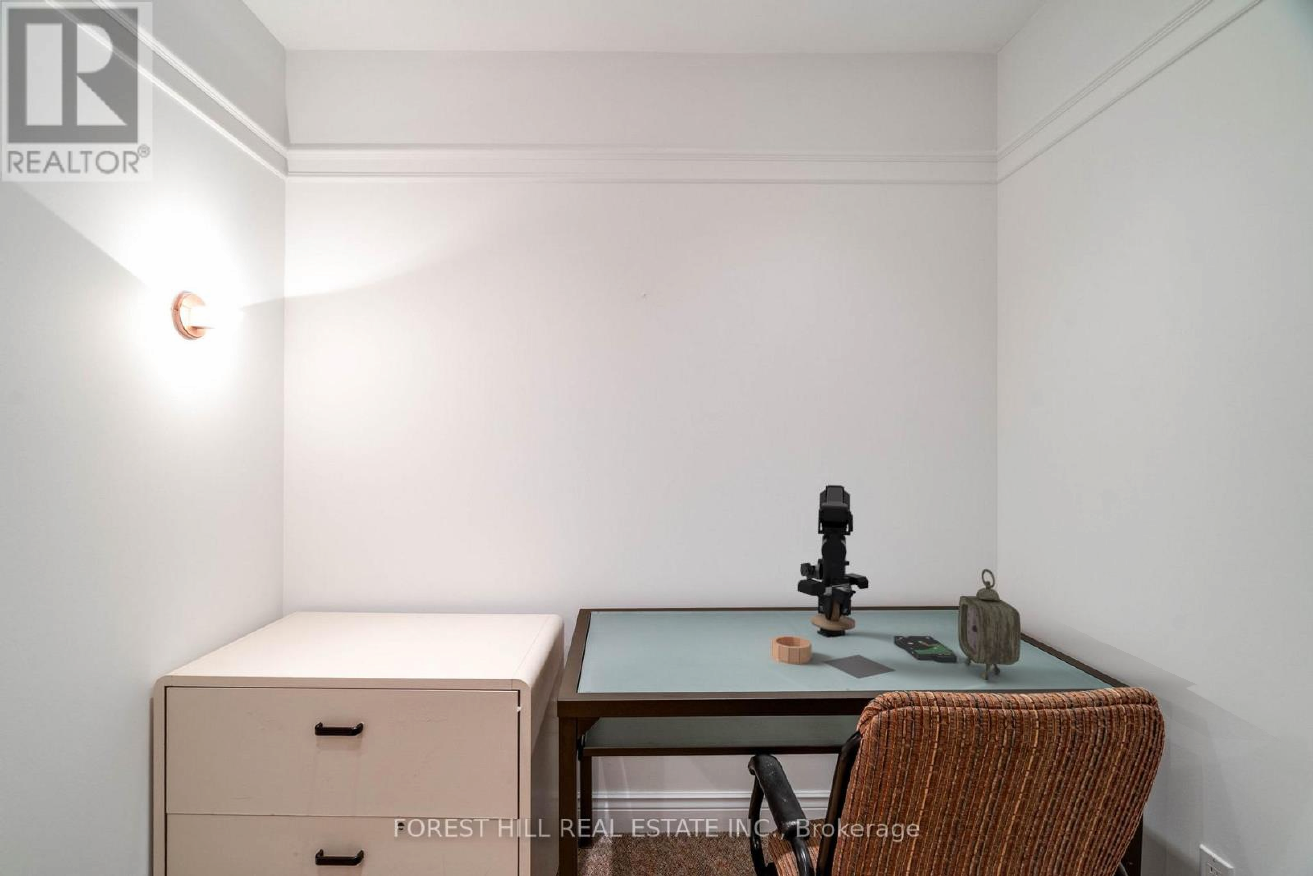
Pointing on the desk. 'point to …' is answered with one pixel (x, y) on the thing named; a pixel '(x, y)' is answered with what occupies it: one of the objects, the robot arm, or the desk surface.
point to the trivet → (858, 666)
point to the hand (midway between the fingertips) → (833, 619)
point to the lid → (834, 621)
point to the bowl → (791, 649)
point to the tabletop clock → (988, 629)
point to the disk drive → (925, 648)
